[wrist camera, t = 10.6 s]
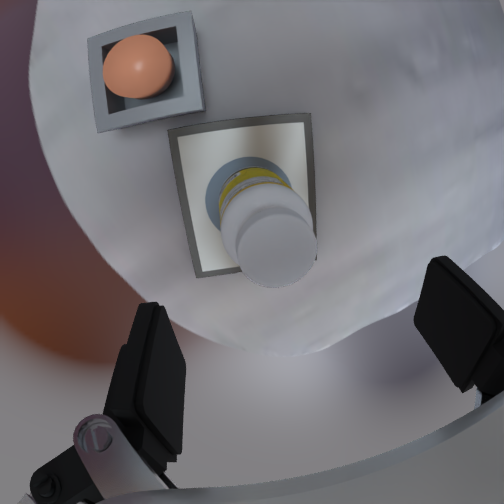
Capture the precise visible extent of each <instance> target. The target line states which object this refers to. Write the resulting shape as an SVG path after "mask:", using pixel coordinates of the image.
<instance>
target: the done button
mask: <svg viewBox="0 0 504 504" xmlns="http://www.w3.org/2000/svg"><path fill="white" fill-rule="evenodd" d="M174 74H175V62H174V59H173V57H172V56H171V54H170V53H169V52H168V50H167V49H166V48H165V47H164V45H163V44H162V43H161V42H160V41H159V40H158V39H156V38H154V37H152V36H149V35H134V36H130V37H127V38H125V39H123V40H121V41H120V42H118V43H117V44H116V45H115V46H114V47H113V48H112V49H111V50H110V52H109V53H108V55H107V57H106V59H105V61H104V65H103V79H104V82H105V84H106V86H107V87H108V88H109V89H110V90H111V91H112V92H113V93H115V94H117V95H119V96H123V97H128V98H134V99H141V100H143V99H150V98H153V97H156V96H158V95H159V94H161V93H162V92H164V91H165V90H166V89H167V88H168V86H169V85H170V84H171V82H172V80H173V77H174Z"/></svg>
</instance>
